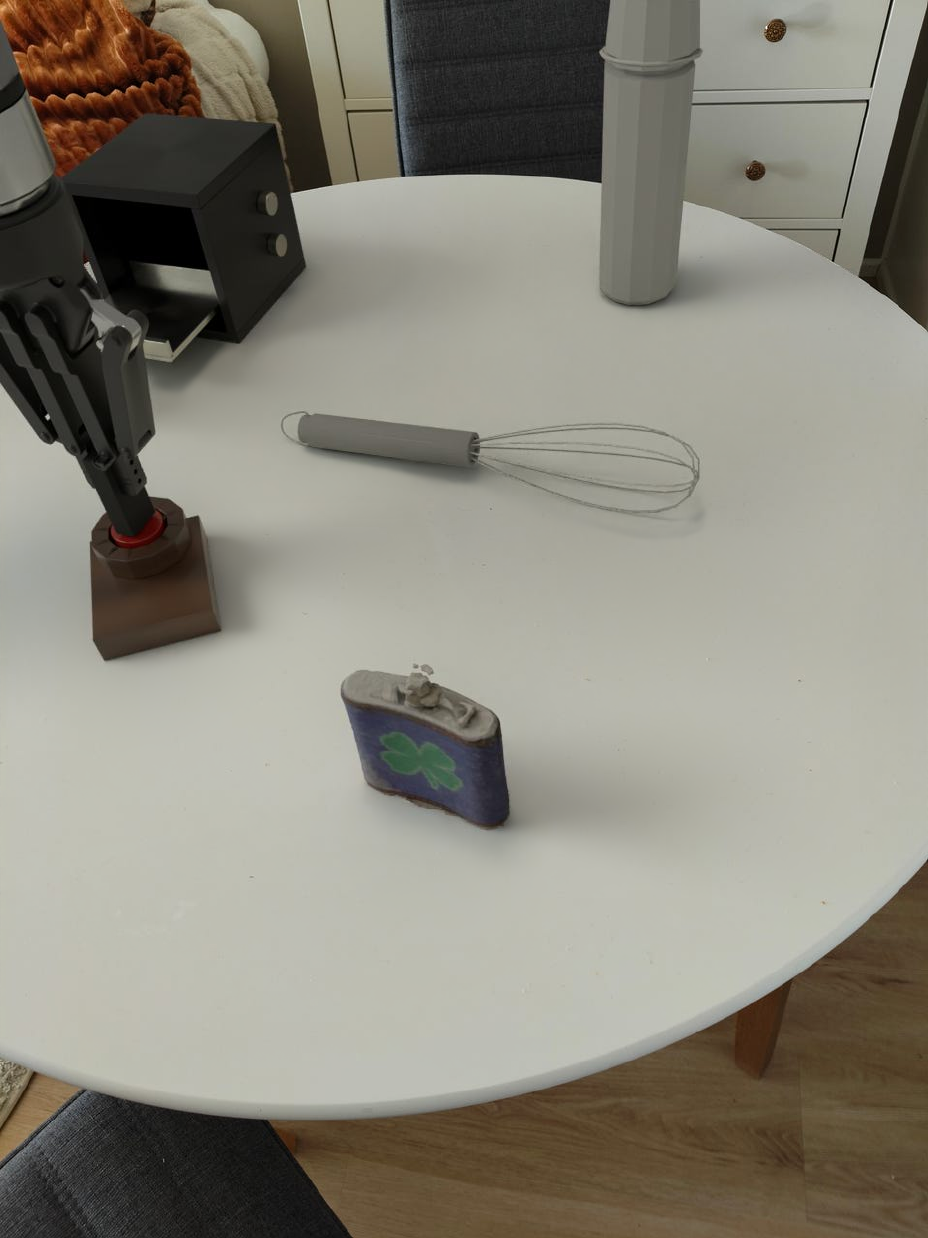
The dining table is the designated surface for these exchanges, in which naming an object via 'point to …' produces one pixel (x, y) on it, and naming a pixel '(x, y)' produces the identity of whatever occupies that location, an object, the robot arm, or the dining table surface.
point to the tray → (167, 304)
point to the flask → (428, 745)
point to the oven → (193, 211)
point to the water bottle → (645, 144)
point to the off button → (142, 533)
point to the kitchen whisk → (456, 446)
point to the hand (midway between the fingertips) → (136, 522)
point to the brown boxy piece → (152, 586)
